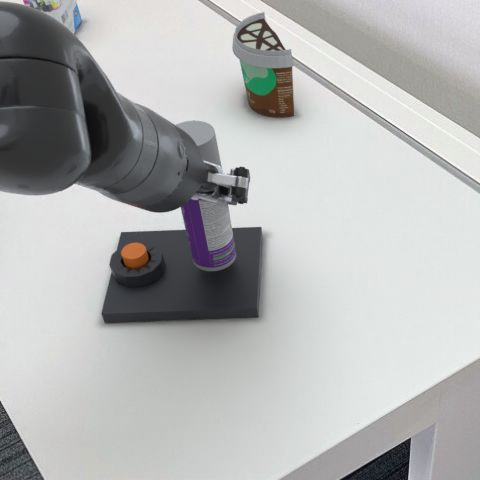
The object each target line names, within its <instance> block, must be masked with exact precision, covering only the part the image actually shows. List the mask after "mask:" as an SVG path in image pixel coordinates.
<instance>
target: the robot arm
mask: <svg viewBox="0 0 480 480" xmlns="http://www.w3.org/2000/svg"><path fill="white" fill-rule="evenodd" d="M176 125H177V124H174V123H173V122H171V121H169V120H168V119H167V118H165V117H164V116H162V115H160V114H159V113H158V112H156V111H154V110H152V109H150V108H149V107H147V106H145V105H142V104H139V103H136V102H134V101H132V100H131V99H129V98H128V97H126V96H124V95H122V94H121V93H119V92H118V91H117V90H116V89H115V87H114V85H113V84H112V82H111V80H110V78H109V77H108V75H107V74H106V73H105V71H104V70H103V69H102V67H101V65H99V63H98V61H96V59H95V58H94V56H93V55H92V53H91V52H90V51H89V49H87V47H86V46H85V44H84V43H83V42H82V41H81V40H80V39H79V38H78V37H77V36H76V35H75V33H74V34H73V33H72V32H71V31H70V30H69V29H68V28H67V27H66V26H65V25H63V24H62V23H61V22H59V21H58V20H56V19H54V18H53V17H51V16H49V15H48V14H46V13H44V12H42V11H40V10H37V9H35V8H32V7H30V6H26V5H24V3H18V2H12V1H2V0H0V192H1V193H7V194H14V195H21V196H22V195H23V196H33V197H35V196H47V195H53V194H57V193H59V192H63V191H65V190H67V189H69V188H70V187H72V186H73V185H77V186H80V187H82V188H86V189H89V190H93V191H95V192H98V193H99V194H101V195H102V196H103V197H106V198H108V199H111V200H113V201H116V202H119V203H122V204H125V205H128V206H131V207H134V208H138V209H141V210H144V211H147V212H150V213H159V214H163V213H169V212H173V211H175V210H178V209H181V206H183V205H184V204H186V203H187V202H188V201H189V200H200V201H203V202H213V203H216V202H217V201H218V200H220V201H222V202H223V203H227V204H228V206H230V205H231V206H237V205H238V204H239V205H244V204H248V202H249V201H248V200H249V197H248V196H249V189H250V183H251V173H250V169H248V168H246V167H245V166H239V167H236V166H235V167H234V168H230V171H229V172H230V173H226V172H224V171H223V167H222V168H221V167H220V166H219V165H216V164H213V163H210V162H207V161H205V160H203V158H202V156H201V153H200V151H199V148H198V146H197V145H196V143H195V141H194V140H193V139H192V138H191V136H190V135H189V134H187V133H186V132H185V131H184V130H182V129H181V128H179V127H178V126H176ZM222 171H223V172H222Z"/></svg>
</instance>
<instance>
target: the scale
mask: <svg viewBox="0 0 480 480" xmlns="http://www.w3.org/2000/svg"><path fill="white" fill-rule="evenodd" d="M232 231H233V238H234V244H235V250H236V258H235V260H234V262H233V263H232V264H231V265H230V266H228V267H227V268H224V269H222V270H218V271H205V270H202V269H199V268H198V267H196V266H195V265H194V263H193V260H192V256H191V252H190V247H189V243H188V238H187V234H186V229H166V230H165V229H164V230H163V229H162V230H137V231H121V232H120V233H119V234H120V235H119V239H118V243H117V247H116V250H115V251H114V252H113V253H112V254H111V256H110V260H109V264H108V265H109V268H110V277H109V280H108V285H107V288H106V292H105V296H104V300H103V306H102V309H101V313H100V315H101V318H102V321H103V322H104V324H117V323H119V324H120V323H141V322H144V323H145V322H166V321H167V322H169V321H192V320H193V321H194V320H215V319H216V320H217V319H219V320H220V319H221V320H222V319H247V318H259V313H260V296H261V295H260V293H261V277H262V276H261V274H262V255H263V238H264V235H263V227H262V226H246V227H243V226H241V227H232ZM131 243H141V244H143V245H144V246H145V247H146V250H147V254H148V257H149V262H148V264H147V265H146V266H143V267H141V268H138V269H129V268H127V267H126V266H125V264H124V261H123V258H122V254H121V251H122V249H123V248H124V247H125V246H126V245H128V244H131Z"/></svg>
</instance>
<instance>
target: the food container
mask: <svg viewBox="0 0 480 480" xmlns="http://www.w3.org/2000/svg"><path fill="white" fill-rule="evenodd" d="M231 50H232V52H233V55H234V56H235V57H236V58H237V59H238V60H239V65H240V70H241V74H242V78H243V83H244V89H245V93H246V99H247V103H248V106H249V108H250V109H251V110H252V111H253V112H255V113H256V114H258V115H260V116H264V117H269V118H290V117H294V116H295V104H294V103H295V99H294V77H293V75H294V74H293V67H294V60H293V54H292V48H289V49H286V48H285V46H284V45H283V43H282V41H281V39H280V37H279V36H278V34H277V32H275V30H274V29H272V28H271V26H270V25H269V24H268V22H267V20H266V13H265V11H262V12H258V13H255V14H252V15H250V16H248V17H246V18H244V19H243V20H241V21H240V22H239V23H238V24H237V25H236V27H235V28H234V32H233V36H232V49H231Z"/></svg>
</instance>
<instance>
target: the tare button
mask: <svg viewBox="0 0 480 480" xmlns="http://www.w3.org/2000/svg"><path fill="white" fill-rule="evenodd" d="M121 254H122V258H123V261H124V264H125V266H126V267H127V268H129V269H138V268H141V267H143V266H146V265H147V264H148V262H149V257H148V254H147V250H146V247H145V246H144V245H143V244H141V243H131V244H128V245H126V246H125V247H124V248H123V249H122V251H121Z"/></svg>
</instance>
